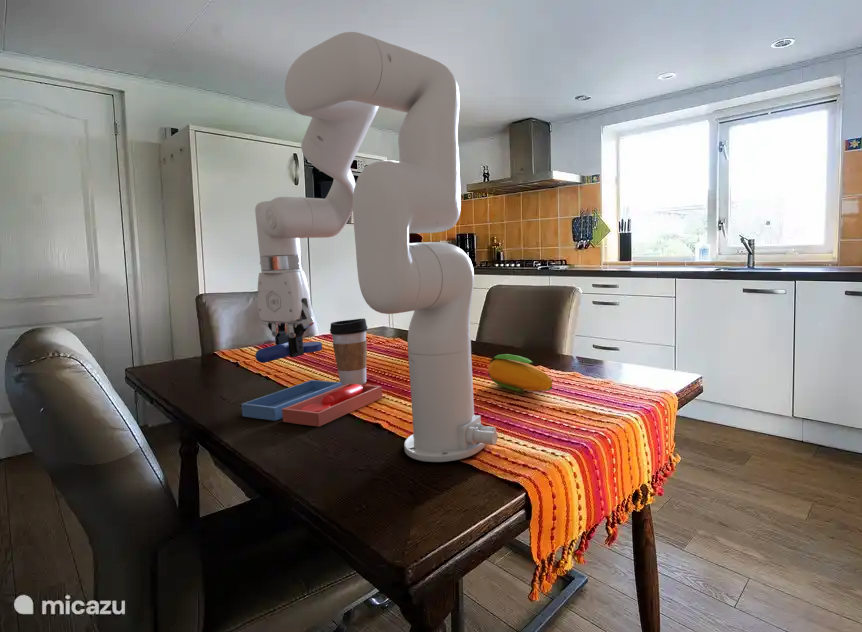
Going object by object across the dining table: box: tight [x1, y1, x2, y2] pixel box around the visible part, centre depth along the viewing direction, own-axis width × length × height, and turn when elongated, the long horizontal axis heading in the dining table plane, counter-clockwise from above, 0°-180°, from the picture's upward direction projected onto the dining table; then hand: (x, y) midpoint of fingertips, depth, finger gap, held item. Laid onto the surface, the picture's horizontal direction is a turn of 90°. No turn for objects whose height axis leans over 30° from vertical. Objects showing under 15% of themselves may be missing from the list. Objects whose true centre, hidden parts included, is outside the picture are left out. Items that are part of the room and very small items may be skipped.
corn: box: [487, 353, 553, 394], centre depth 108 cm, size 7×8×20 cm
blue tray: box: [240, 379, 342, 422], centre depth 105 cm, size 9×18×2 cm, turn 157°
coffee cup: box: [329, 318, 369, 386], centre depth 119 cm, size 8×8×15 cm
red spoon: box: [301, 384, 363, 412], centre depth 101 cm, size 16×5×3 cm, turn 157°
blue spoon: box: [254, 341, 323, 364], centre depth 103 cm, size 16×5×3 cm, turn 157°
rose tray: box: [282, 383, 383, 427], centre depth 101 cm, size 9×18×2 cm, turn 157°
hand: (290, 354), depth 104 cm, fingers closed on blue spoon, 2 cm apart
